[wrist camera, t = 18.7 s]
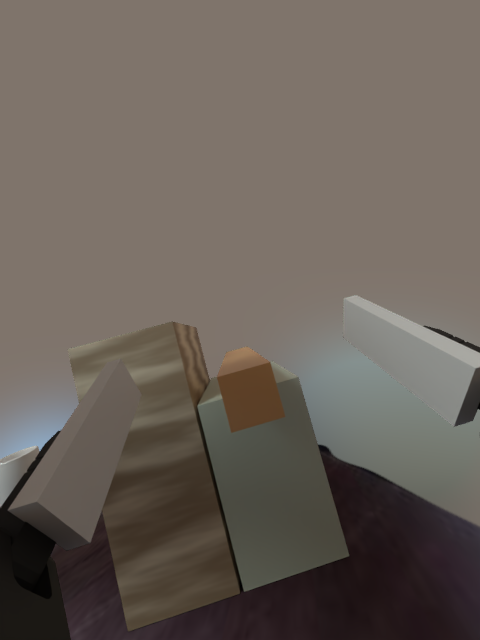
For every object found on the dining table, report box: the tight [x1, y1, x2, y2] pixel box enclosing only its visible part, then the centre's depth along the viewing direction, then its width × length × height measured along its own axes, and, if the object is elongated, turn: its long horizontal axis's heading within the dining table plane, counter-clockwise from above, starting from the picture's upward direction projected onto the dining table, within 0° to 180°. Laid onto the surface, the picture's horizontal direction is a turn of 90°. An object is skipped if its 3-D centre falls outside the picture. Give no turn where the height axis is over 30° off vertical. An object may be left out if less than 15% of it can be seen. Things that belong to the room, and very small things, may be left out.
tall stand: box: [68, 322, 240, 632], centre depth 31 cm, size 16×12×30 cm
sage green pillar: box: [197, 361, 349, 592], centre depth 31 cm, size 16×12×20 cm
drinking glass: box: [0, 446, 39, 507], centre depth 42 cm, size 7×7×15 cm
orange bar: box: [217, 347, 285, 433], centre depth 27 cm, size 24×4×4 cm, turn 2°
